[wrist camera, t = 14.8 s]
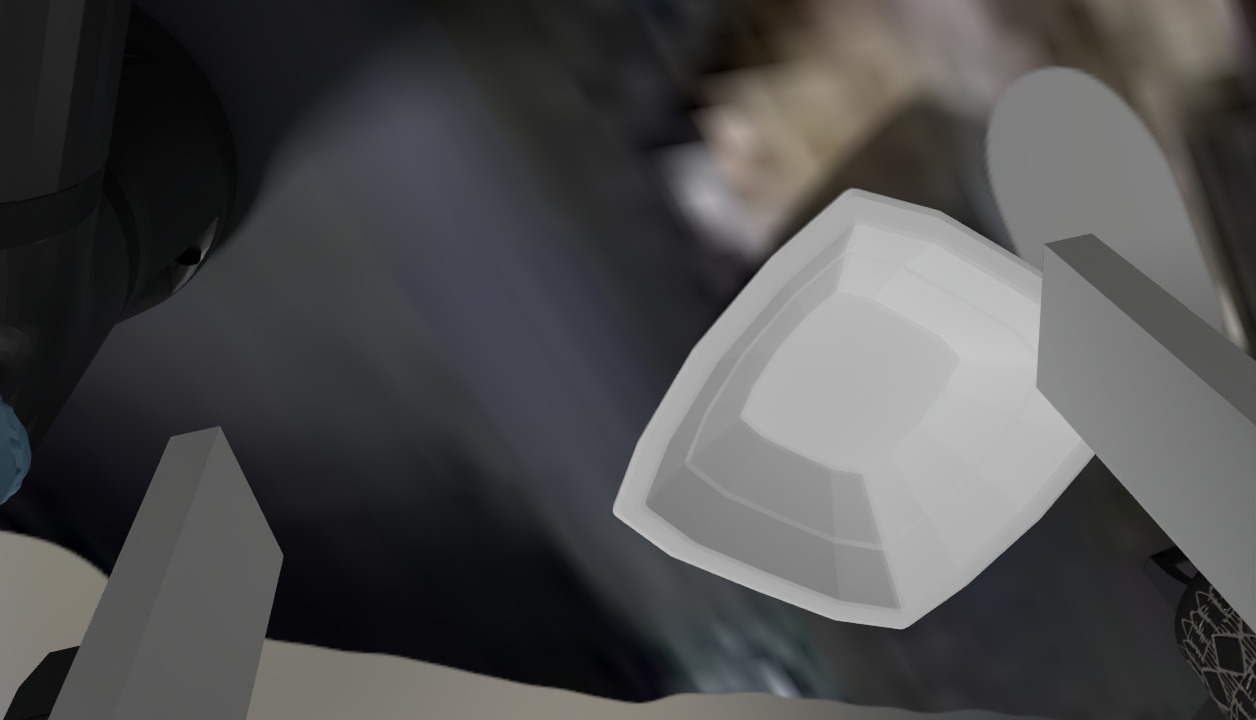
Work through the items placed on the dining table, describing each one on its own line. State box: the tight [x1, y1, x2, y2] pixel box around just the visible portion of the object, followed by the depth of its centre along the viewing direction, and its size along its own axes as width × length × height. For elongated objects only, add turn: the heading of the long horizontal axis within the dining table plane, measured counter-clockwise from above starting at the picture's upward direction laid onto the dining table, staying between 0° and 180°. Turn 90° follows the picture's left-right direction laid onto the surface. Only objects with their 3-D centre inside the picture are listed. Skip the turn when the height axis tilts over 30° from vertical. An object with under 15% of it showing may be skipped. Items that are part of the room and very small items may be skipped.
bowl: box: [613, 188, 1095, 629], centre depth 53 cm, size 22×23×6 cm
